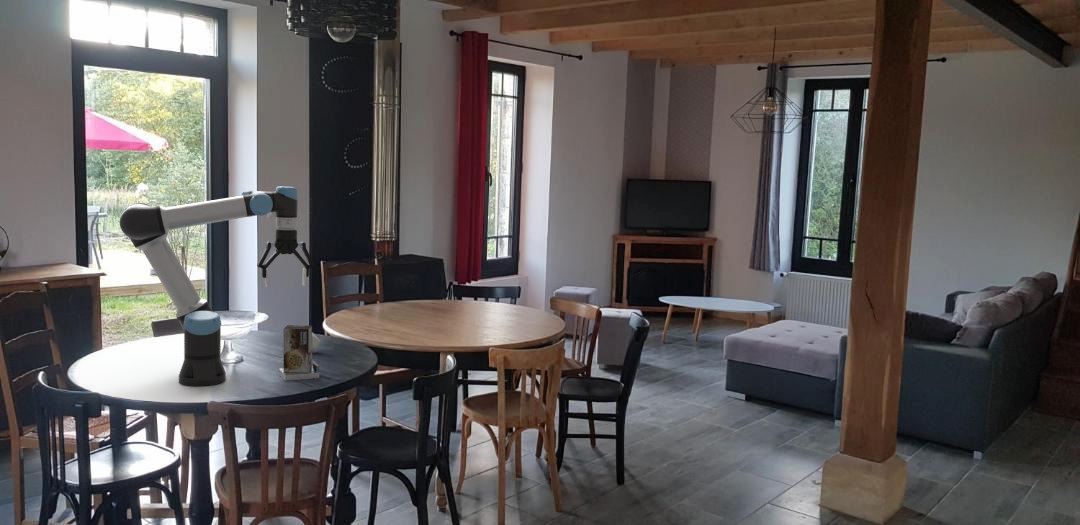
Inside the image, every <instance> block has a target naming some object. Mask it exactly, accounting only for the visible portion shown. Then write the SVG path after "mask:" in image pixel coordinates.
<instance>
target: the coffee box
mask: <svg viewBox="0 0 1080 525" xmlns="http://www.w3.org/2000/svg"><path fill="white" fill-rule="evenodd" d="M312 333H313V325H309V324H308V325H302V324H301V325H300V324H299V325H298V324H296V325H295V324H287V325H286V326H284V328H283V332H282V334H283V368H284V370H283V372H297V373H309V372H310V371H311V369H312V360H313V353H312Z"/></svg>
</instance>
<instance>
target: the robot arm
mask: <svg viewBox="0 0 1080 525" xmlns="http://www.w3.org/2000/svg"><path fill="white" fill-rule="evenodd" d="M298 202H299V200H298V189H297V188H296V187H295V186H277V187H275V191H259V190H243V191H242V192H241V195H240V196H238V195H237V196H233V197H231V196H230V197H226V198H219V199H214V200H207V201H201V202H194V203H189V204H186V203H185V204H182V205H176V206H175V205H174V206H169V207H168V206H167V207H164V206H163V205H154V206H152V205H150V204H149V203H148V204H147V203H145V202H137V203H134V204H131V205H129V206H127V207H126V208H125V209H124V210H123V212H122V213H121V215H120V217H119V227H120V230H121V231H122V233H123V234H124V235H125V236H126V237H128V238H129V240H130V242H131V244H132V245H133V246H134V248H135V249H137V250H139V251H140V250H141V251H142V252H143V254H144V256H145V257H146V259H147V261H148V262H149V264H150V265H151V268H152V269H153V271H154V273H155V274H156V276H157V277H158V279H159V280H160V283H161V284H162V286H163V288H164V289H165V291H166V293H167V295H168V296H169V298H170V300H171V301H172V304H173V305H174V306H175V308H176V312H175V317H176V319H177V321H178V322H179V324H180V325H181V328H182V329H183V338H184V339H183V340H184V341H183V343H184V346H183V348H184V349H183V350H184V352H183V354H184V356H183V358H184V359H183V362H182V365H181V368H180V371H179V374H178V383H179V384H181V385H184V386H191V387H204V386H206V387H207V386H215V385H218V384H221V383H223V382H225V381H226V380H227V375H226V374H227V373H226V369H225V367H224V364H223V361H222V359H221V352H222V351H221V347H222V346H221V343H222V342H221V340H222V339H221V331H222V330H221V329H222V328H221V326H222V320H221V316H220V314H219V313H217V312H215V311H213V309H212V307H211V305H210V302H208V300H207V299H205V298H201V297H200V295H199V294H198V291H197V290H196V288H195V286H194V284H193V283H192V281H191V280H190V277H189V276H188V274H187V273H186V271H185V269H184V267H183V266H182V263H181V262H180V260H179V259H178V257H177V255H176V252H174V250H173V248H172V247H171V245H170V242H168V240H167V237H168V233H169V232H170V231H173V230H177V229H184V228H190V227H197V226H202V225H207V224H214V223H219V222H220V223H221V222H226V221H231V220H237V219H243V218H250V217H254V216H260V217H261V216H262V217H263V216H267V215H268V214H270V213H275V228H276V229H275V241H274V242H271V241H266V246H265V248H264V251H263V253H262V254H261V256H260V258H259V260H258V261H257V264H256V266H257V268H260V269H261V276H262V278H263V279H264V287H265V288H269V287H270V286H269V285H270V284H269V281H270V280H269V276H270V275H269V274H270V273H269V271H270V270H269V268H268V267H269V266H270V265H271V264H272V263H273V261H274V260H275V259H276V258H277V257H278V256H279V255H292V254H293V255H294V256H295V257H296V258H297V259H298V261H299V262H300V263H301V264H302V266H304V267H302V282H301V283H302V284H301V285H302V286H303V287H306V286H307V278H308V277H309V276H310V268H312V267H314V266H315V263H314V261H313V259H312V257H311V255H310V253H309V250H308V249H307V243H306V242H305V241H300V242H298V230H297V228H298ZM273 247H275V250H274V251H273V253H272V254H271V255H270V256H269V257H268V259H267V256H268V255H269V253H270V251H271V249H272V248H273ZM298 247H299V248H300V249H301V250H302V253H303V255H304V256H305V259H306V260H307V262H306V260H305V259H304V258H303V257H302V256H301V254H300V253H299V252H298V251H297V248H298ZM266 259H267V260H266ZM265 260H266V261H265Z"/></svg>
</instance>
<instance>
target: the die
mask: <svg viewBox="0 0 1080 525" xmlns="http://www.w3.org/2000/svg"><path fill="white" fill-rule="evenodd" d="M320 343H321V340H320V339H319V338H318V336H316V334H315V333H314V332H312V354H314V353H317V350H318V348H319V346H320Z"/></svg>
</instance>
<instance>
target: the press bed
mask: <svg viewBox="0 0 1080 525" xmlns="http://www.w3.org/2000/svg"><path fill="white" fill-rule="evenodd" d="M283 370H284V367H283V368H279V369H278V375H279V376H280V377H281V378H282V379H283V380H284V382H288V381H298V380H301V379H302V380H310V379H311V380H313V378H314V379H320V365H319V364H318V363H317V362H316V361H314V360H313V359H312V369H311V371H310V372H309V373H297V372H283ZM302 380H301V381H302Z"/></svg>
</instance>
